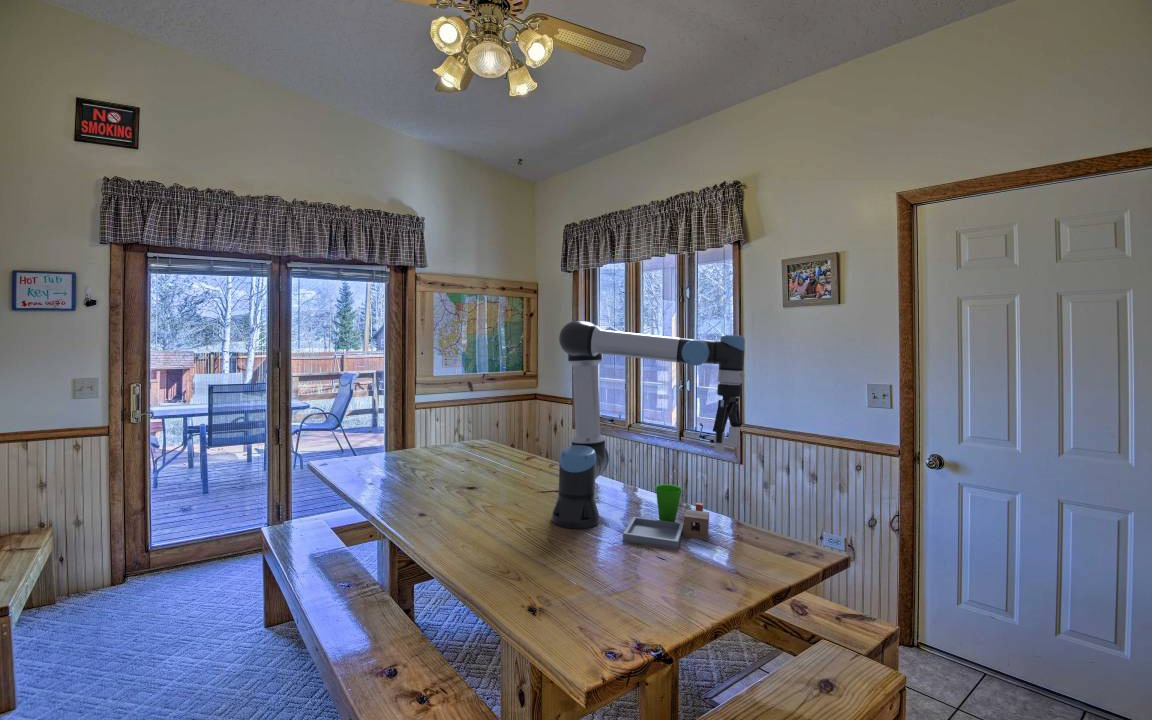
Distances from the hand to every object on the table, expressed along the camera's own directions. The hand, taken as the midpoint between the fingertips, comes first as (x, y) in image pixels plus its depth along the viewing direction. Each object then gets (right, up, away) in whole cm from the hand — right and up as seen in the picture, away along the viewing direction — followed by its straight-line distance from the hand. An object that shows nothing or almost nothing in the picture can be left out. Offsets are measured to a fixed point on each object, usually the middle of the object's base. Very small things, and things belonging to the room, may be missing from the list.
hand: (725, 449), depth 173 cm
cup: (-18, -25, +5) cm, 31 cm away
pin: (-9, -24, 0) cm, 25 cm away
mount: (-11, -25, -6) cm, 28 cm away
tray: (-24, -25, -8) cm, 36 cm away
